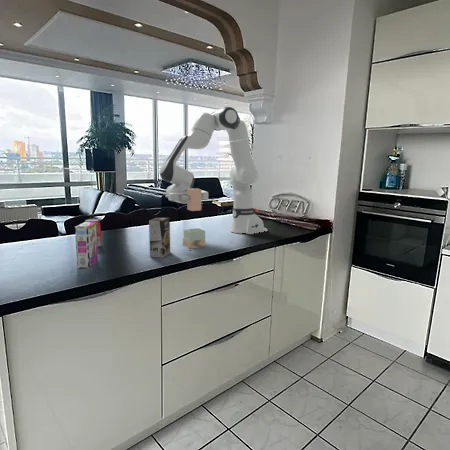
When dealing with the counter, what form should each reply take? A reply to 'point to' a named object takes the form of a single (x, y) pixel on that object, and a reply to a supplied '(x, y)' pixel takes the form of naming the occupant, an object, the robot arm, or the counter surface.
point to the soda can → (97, 230)
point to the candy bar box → (86, 244)
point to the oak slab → (194, 243)
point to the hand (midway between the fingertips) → (195, 197)
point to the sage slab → (194, 234)
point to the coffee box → (159, 237)
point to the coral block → (194, 199)
